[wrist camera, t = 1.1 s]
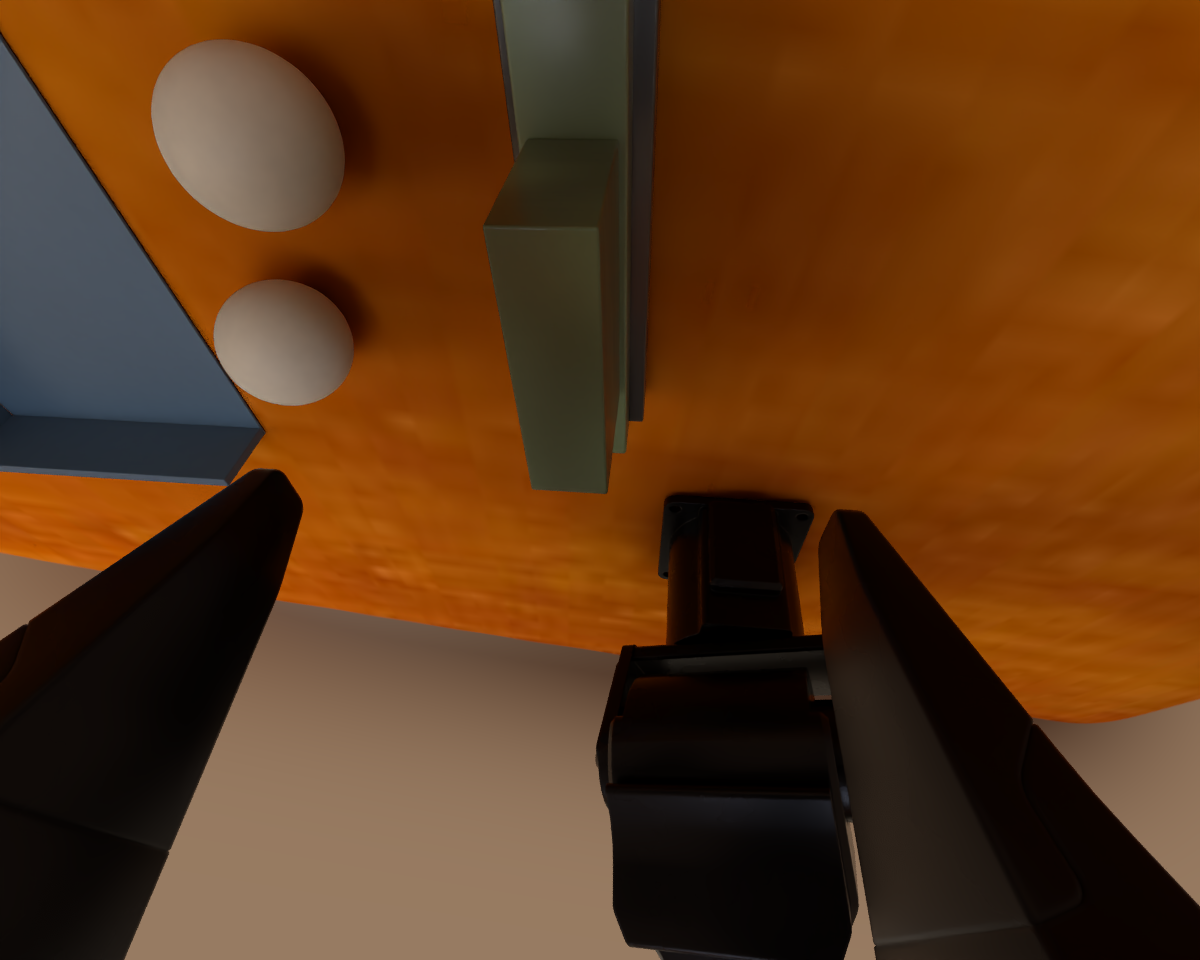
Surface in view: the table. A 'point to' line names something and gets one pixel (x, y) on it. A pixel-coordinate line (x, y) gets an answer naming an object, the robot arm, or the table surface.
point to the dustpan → (95, 327)
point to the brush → (576, 227)
